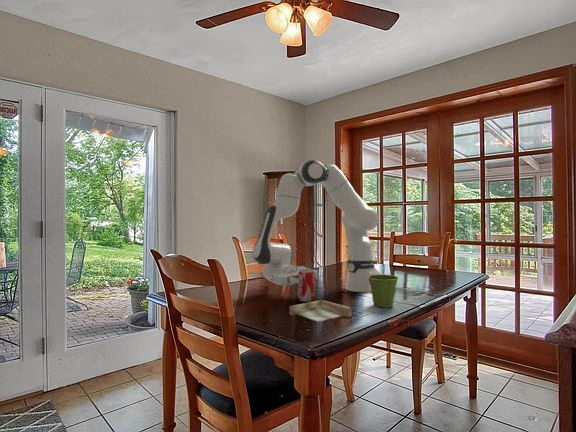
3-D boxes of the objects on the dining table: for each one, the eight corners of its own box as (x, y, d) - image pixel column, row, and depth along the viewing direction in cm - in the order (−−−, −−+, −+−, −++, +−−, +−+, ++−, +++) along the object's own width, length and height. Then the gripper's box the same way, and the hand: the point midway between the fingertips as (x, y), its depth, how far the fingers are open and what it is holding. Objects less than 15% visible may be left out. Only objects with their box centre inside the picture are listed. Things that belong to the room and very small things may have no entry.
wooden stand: (322, 307, 136) (322, 299, 136) (351, 316, 124) (351, 307, 124) (289, 314, 127) (289, 306, 127) (317, 324, 115) (317, 315, 115)
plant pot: (361, 305, 139) (360, 276, 139) (381, 300, 146) (380, 273, 146) (385, 311, 130) (385, 280, 130) (405, 306, 137) (405, 277, 137)
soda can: (312, 303, 138) (313, 272, 138) (295, 301, 140) (295, 271, 140) (315, 298, 145) (316, 269, 145) (299, 297, 147) (299, 268, 147)
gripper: (267, 271, 147) (286, 275, 136) (305, 265, 159) (326, 268, 148) (267, 286, 147) (286, 291, 136) (306, 279, 159) (326, 284, 148)
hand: (307, 279), depth 142 cm, fingers closed on soda can, 7 cm apart
